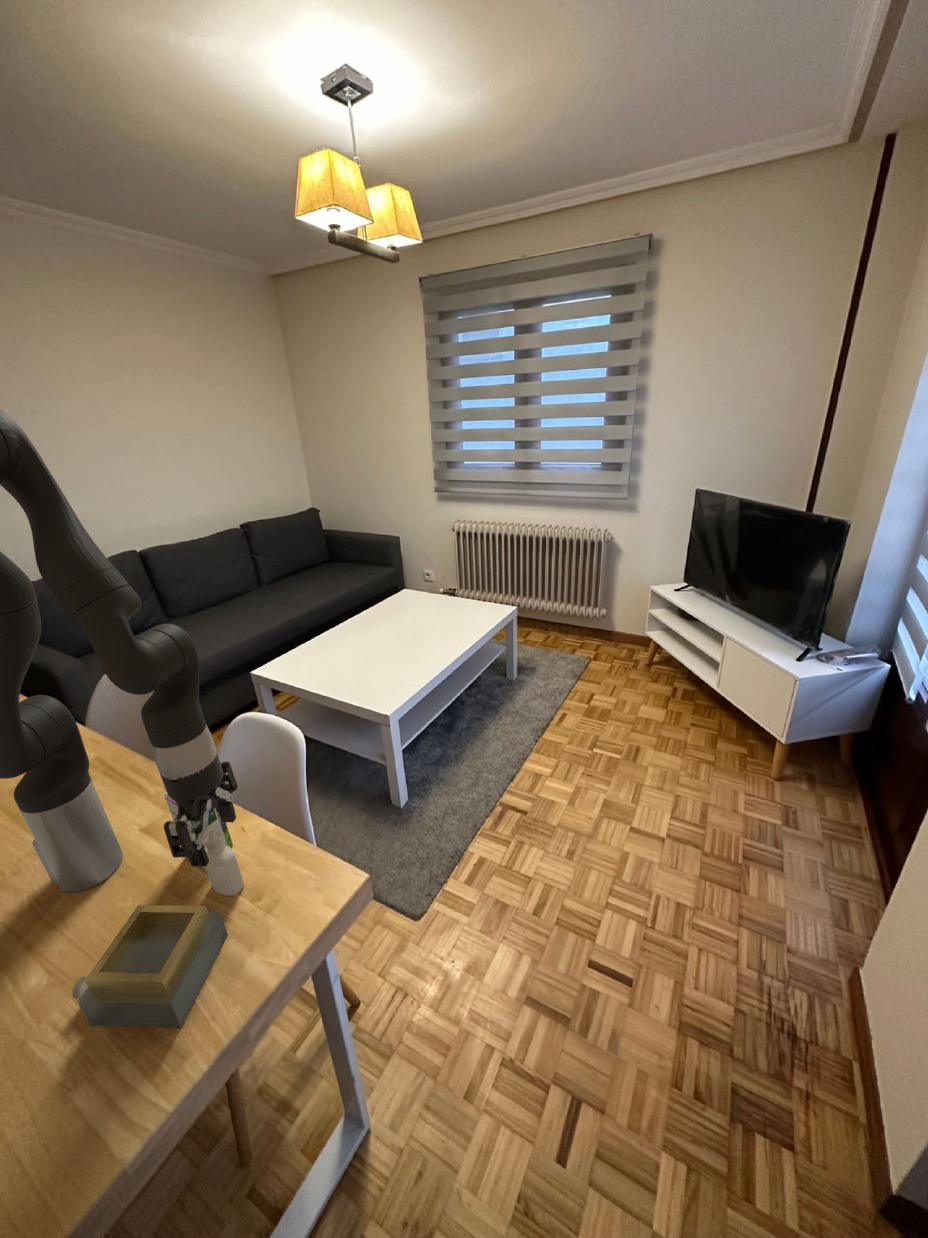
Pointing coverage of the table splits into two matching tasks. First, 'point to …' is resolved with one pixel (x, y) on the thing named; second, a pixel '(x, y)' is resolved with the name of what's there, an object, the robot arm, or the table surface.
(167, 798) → the syrup box
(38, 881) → the table surface
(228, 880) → the eye dropper bottle
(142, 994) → the grey gold open box
